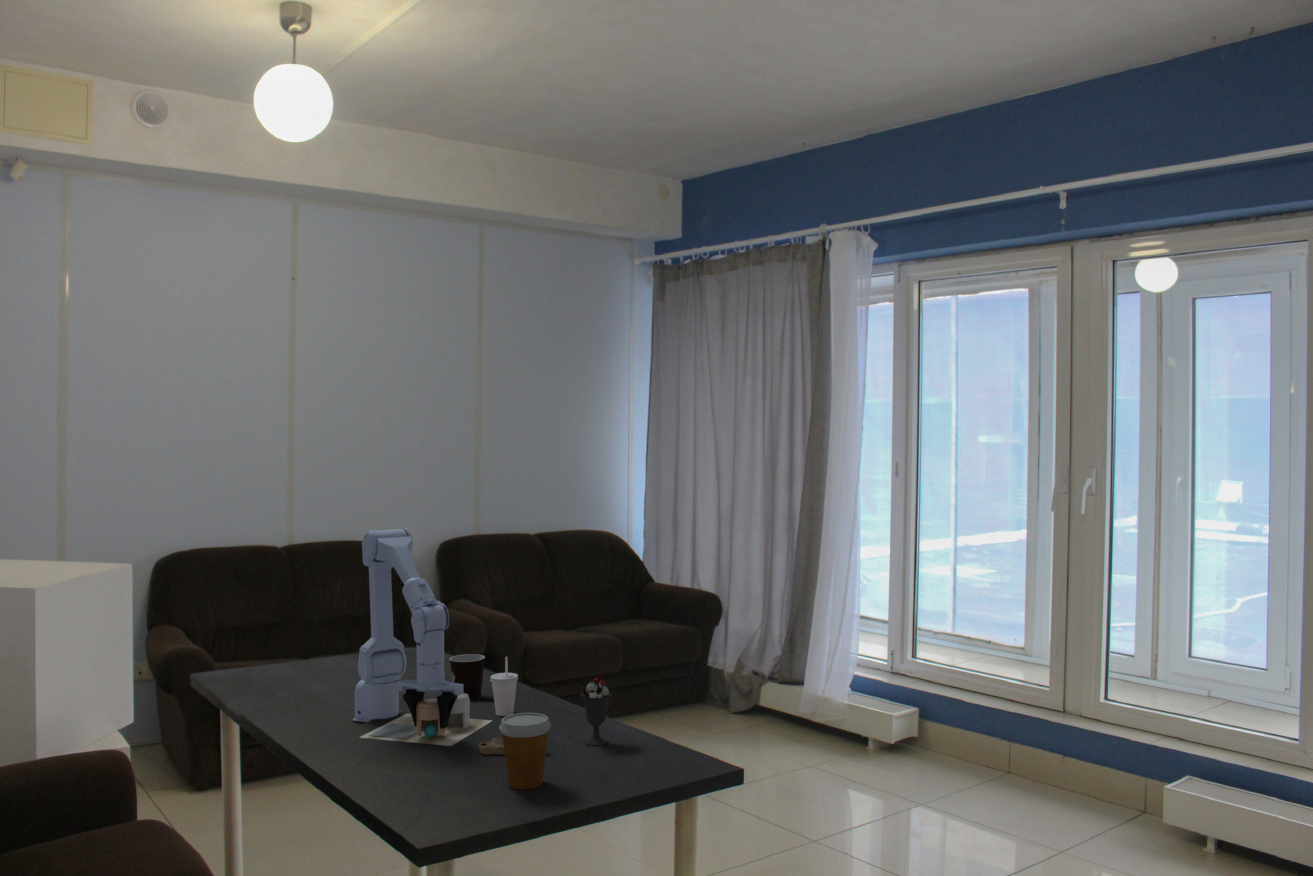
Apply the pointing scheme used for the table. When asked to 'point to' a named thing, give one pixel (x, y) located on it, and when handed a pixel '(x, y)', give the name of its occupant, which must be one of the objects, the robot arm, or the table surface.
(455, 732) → the board
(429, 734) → the marble
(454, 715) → the white round stool
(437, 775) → the table surface
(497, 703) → the smoothie
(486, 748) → the oil lamp
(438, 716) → the pink stool
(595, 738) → the sundae
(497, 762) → the table surface
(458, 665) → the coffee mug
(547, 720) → the disposable coffee cup
